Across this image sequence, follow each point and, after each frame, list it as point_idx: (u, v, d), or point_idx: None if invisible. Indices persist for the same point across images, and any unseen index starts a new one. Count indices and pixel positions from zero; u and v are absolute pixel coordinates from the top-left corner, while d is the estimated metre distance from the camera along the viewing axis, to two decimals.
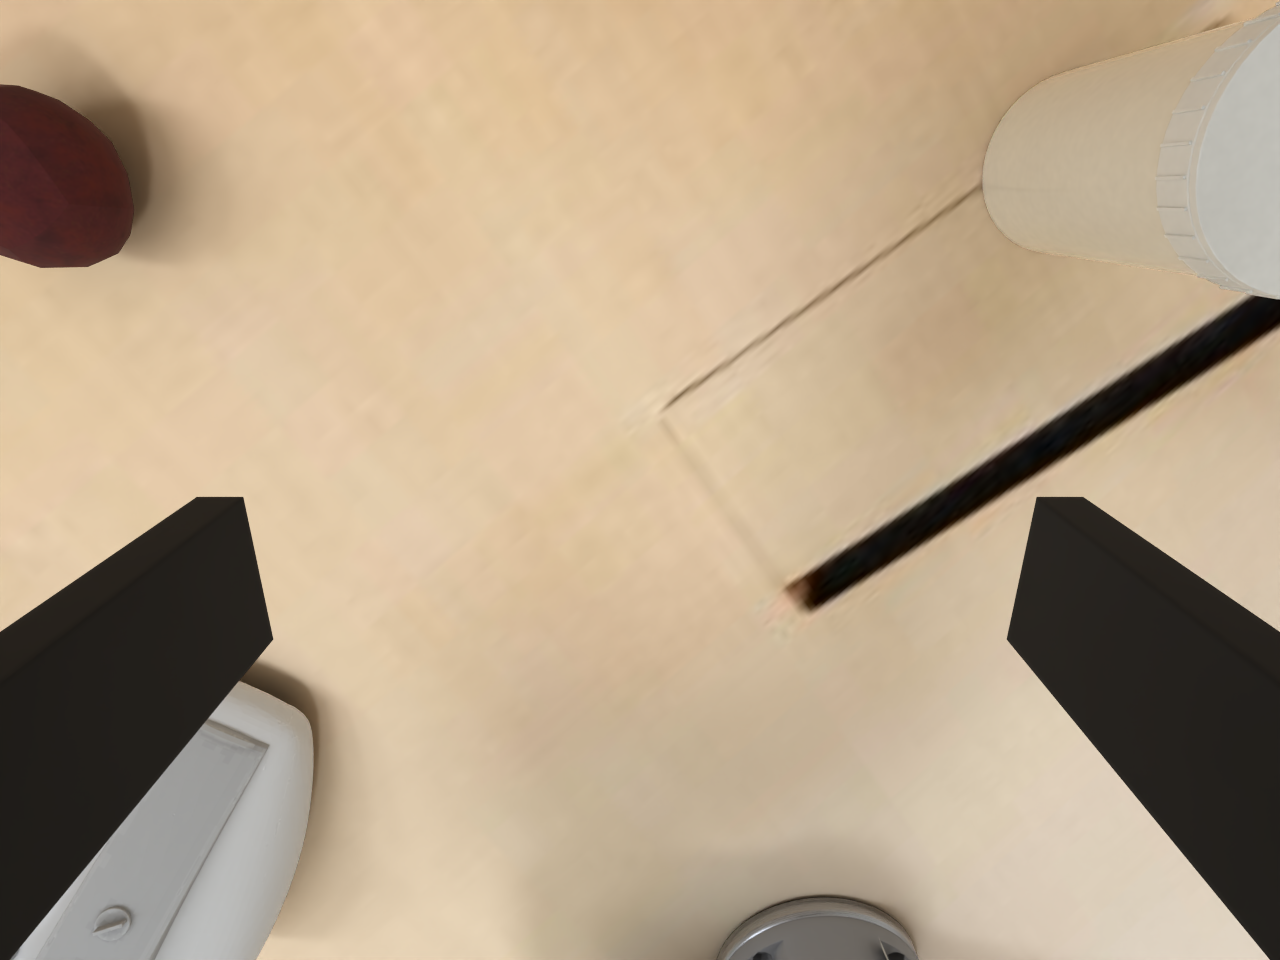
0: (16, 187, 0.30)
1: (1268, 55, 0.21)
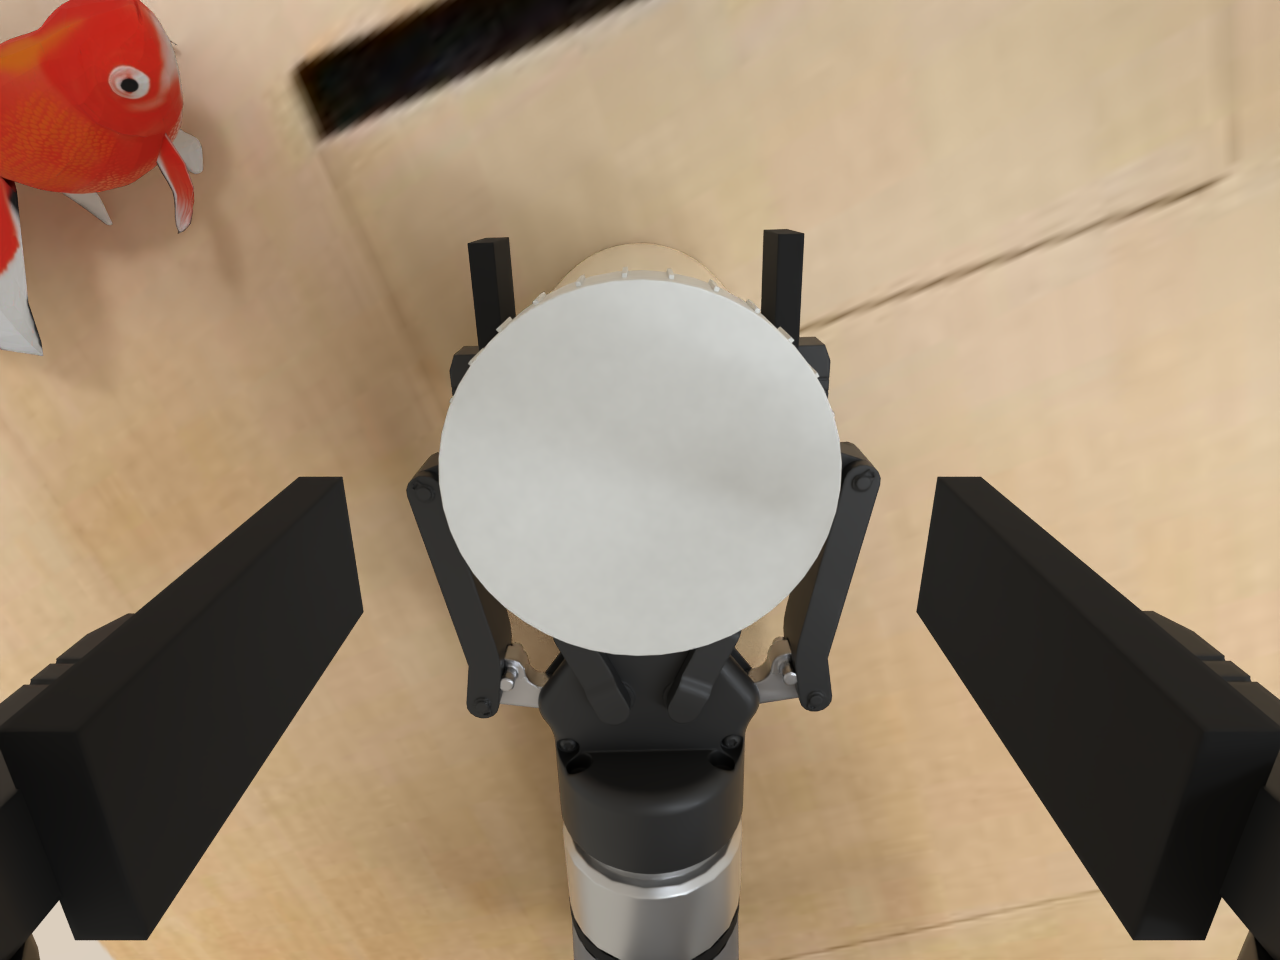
0: None
1: (741, 610, 0.17)
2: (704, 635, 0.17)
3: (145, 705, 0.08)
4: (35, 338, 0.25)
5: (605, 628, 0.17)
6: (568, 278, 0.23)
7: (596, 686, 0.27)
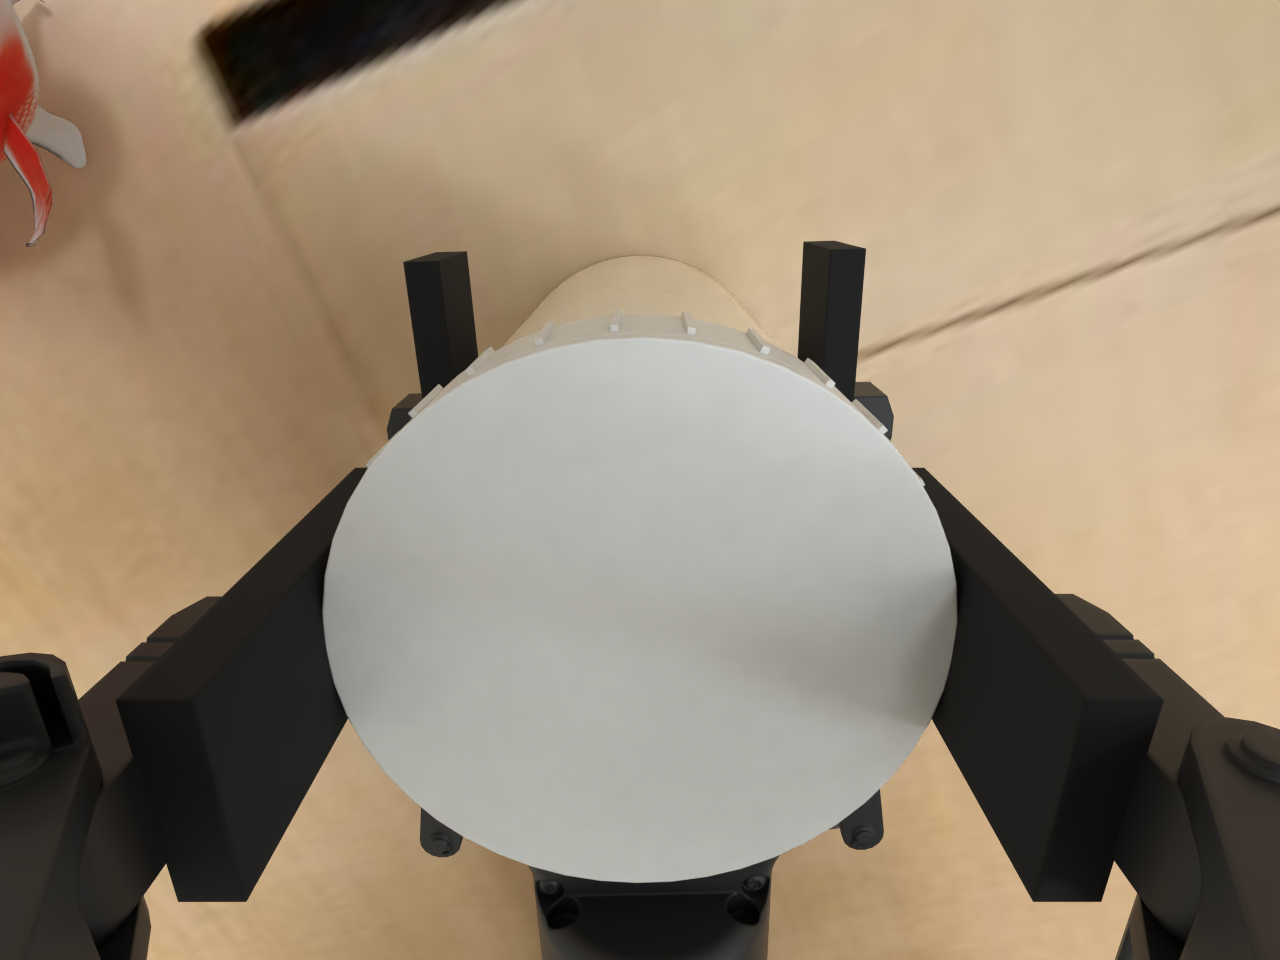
0: None
1: (793, 823, 0.11)
2: (736, 856, 0.12)
3: (244, 678, 0.08)
4: None
5: (588, 847, 0.12)
6: (544, 307, 0.17)
7: None
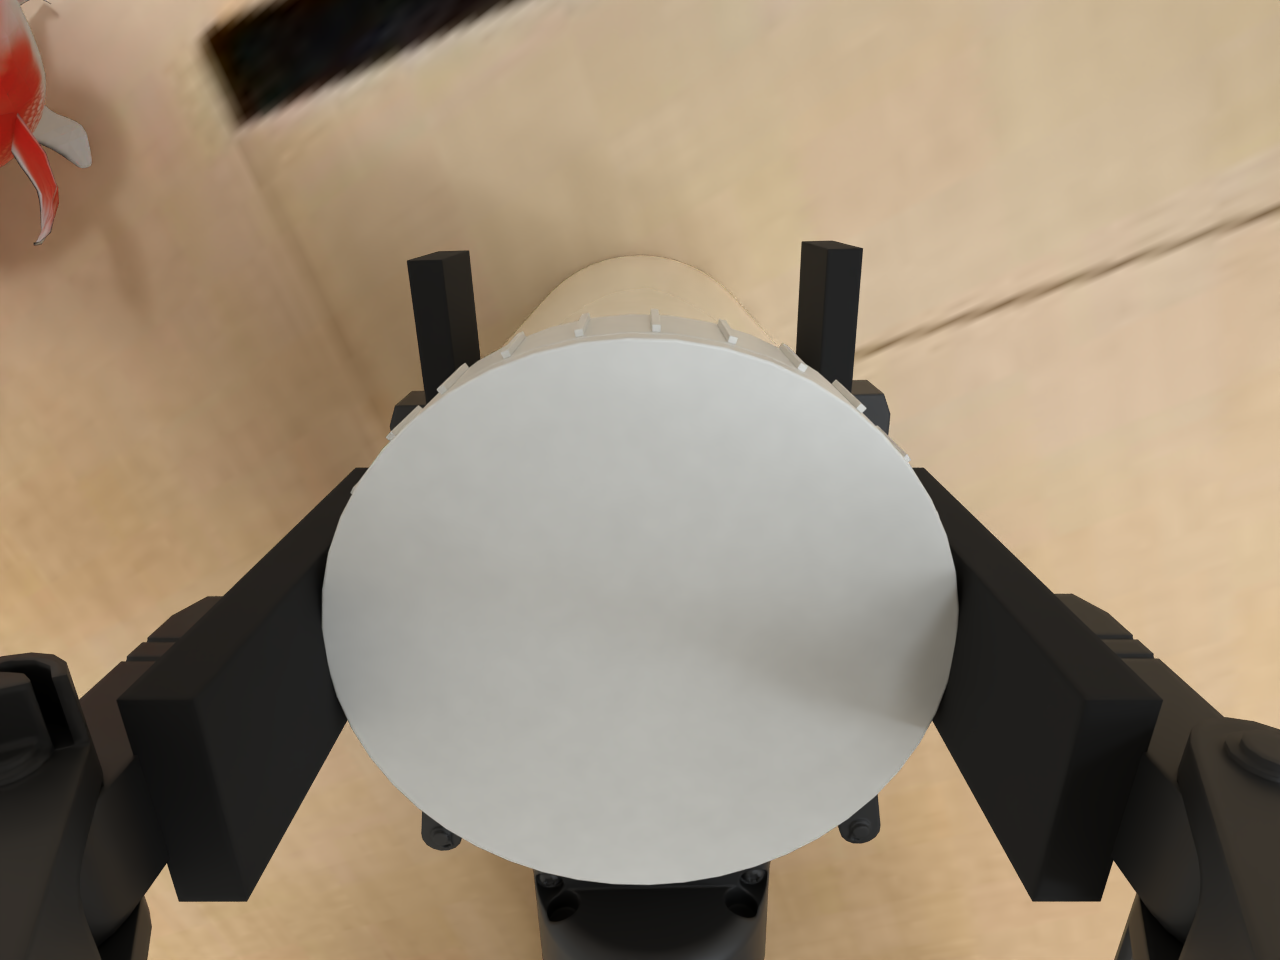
0: None
1: (878, 486, 0.09)
2: (925, 544, 0.10)
3: (245, 678, 0.08)
4: None
5: (896, 693, 0.10)
6: (545, 305, 0.17)
7: None
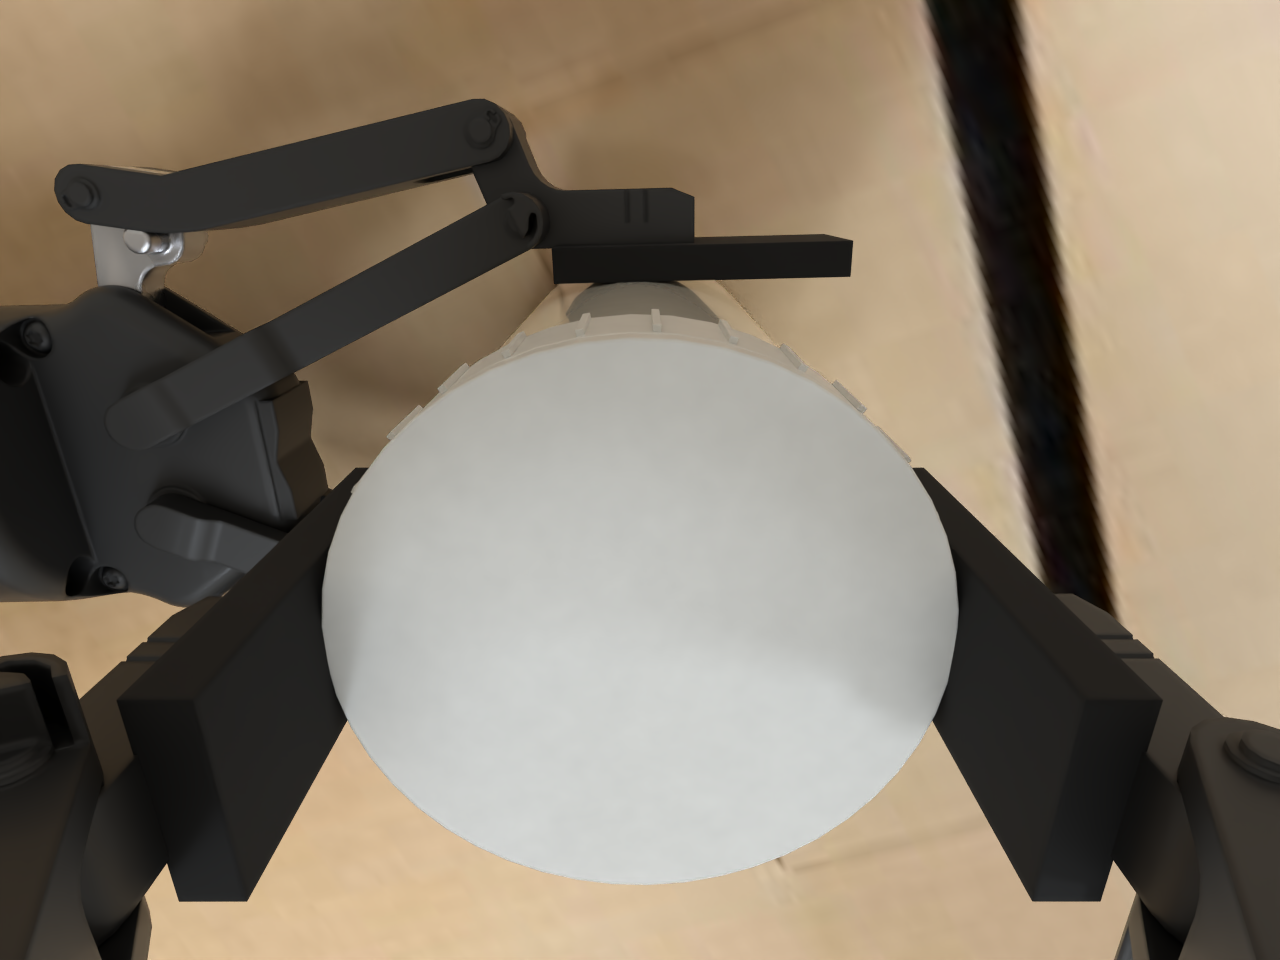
0: None
1: (878, 486, 0.09)
2: (925, 544, 0.10)
3: (246, 678, 0.08)
4: None
5: (896, 693, 0.10)
6: None
7: (173, 398, 0.17)
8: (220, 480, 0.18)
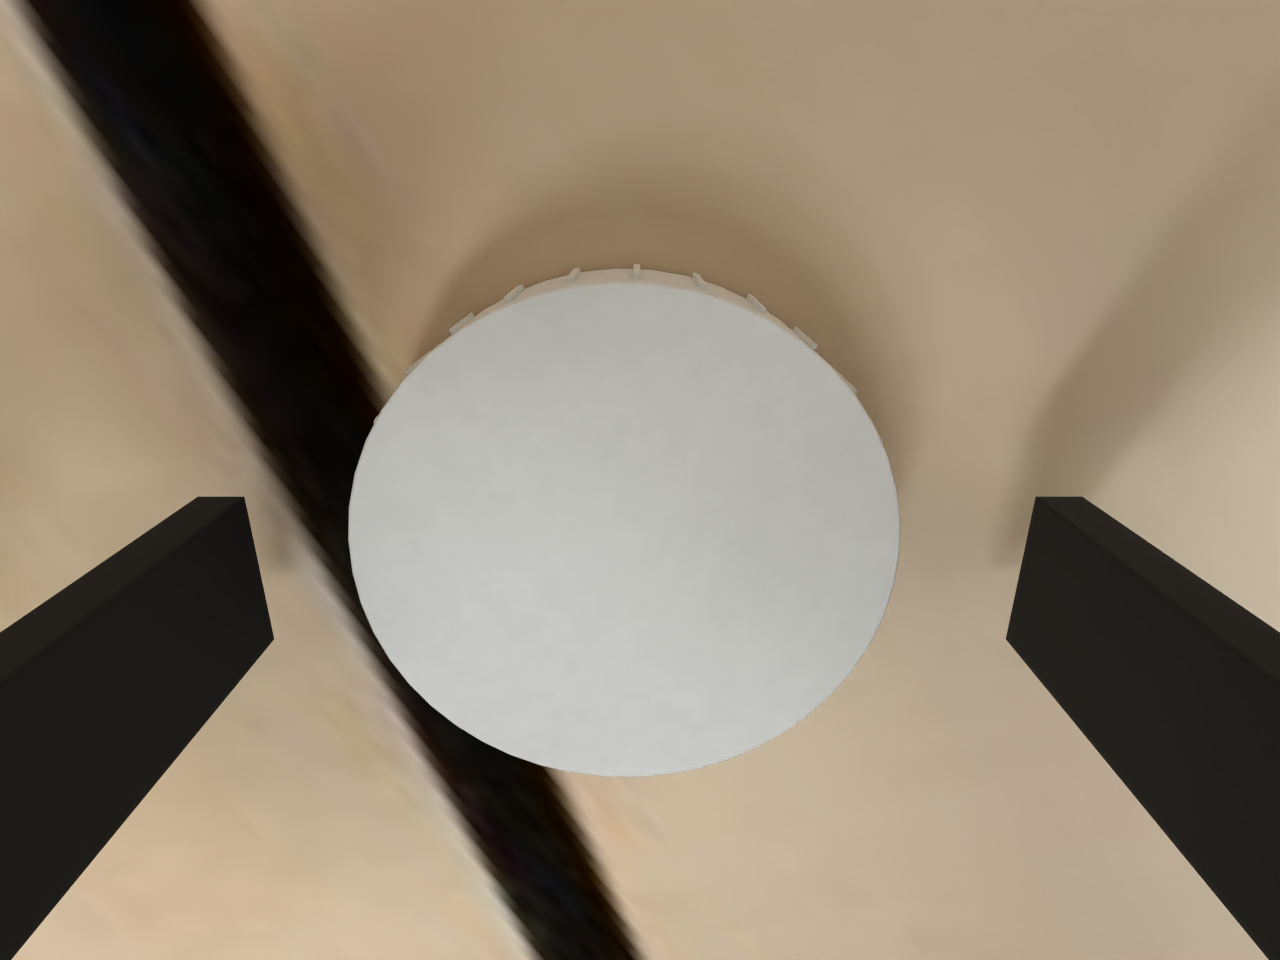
0: None
1: (827, 412, 0.11)
2: (869, 464, 0.11)
3: None
4: None
5: (848, 598, 0.12)
6: None
7: None
8: None
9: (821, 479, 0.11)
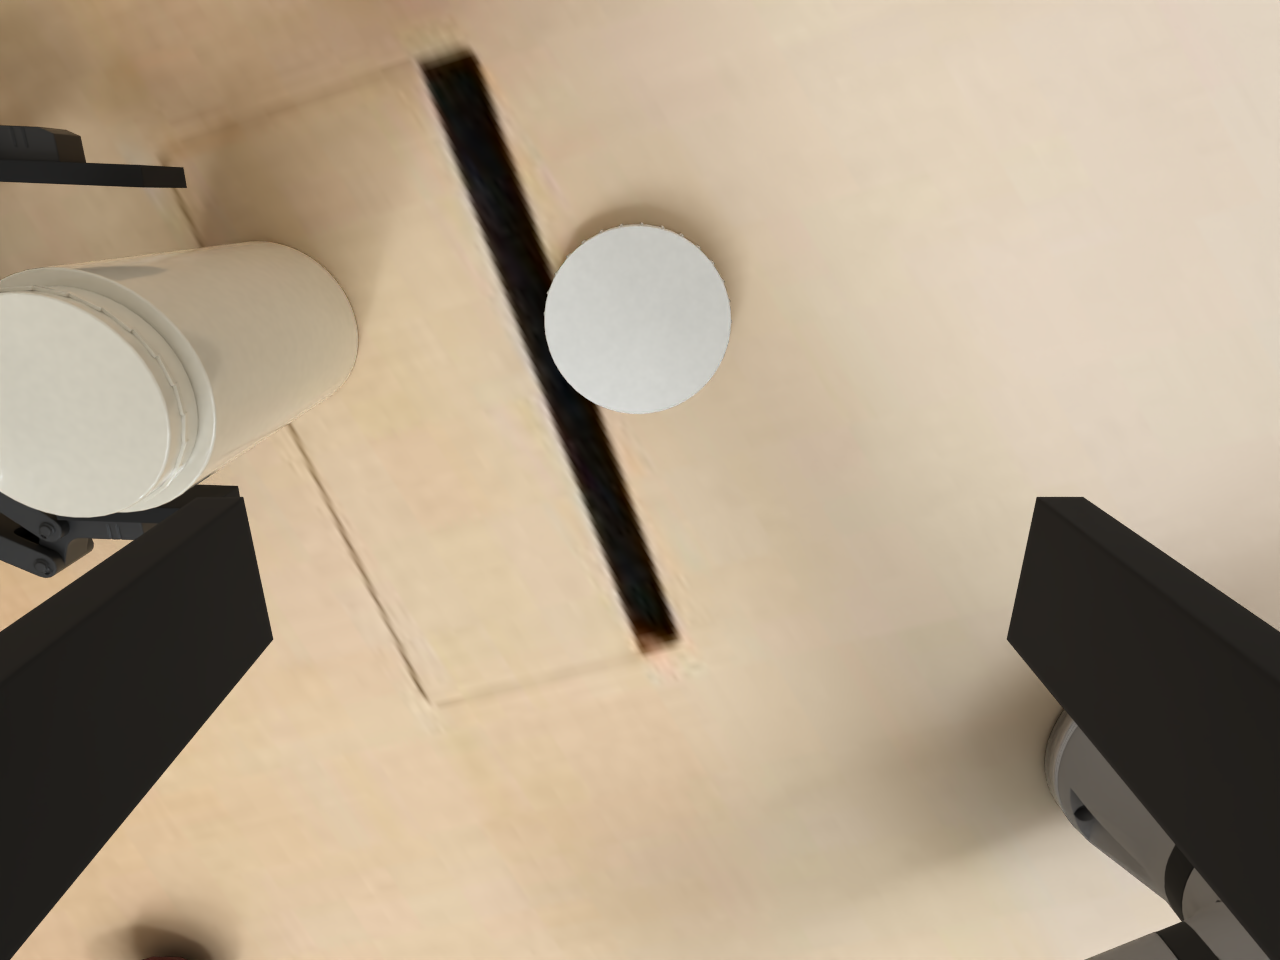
0: None
1: (703, 268, 0.34)
2: (718, 287, 0.34)
3: None
4: None
5: (714, 338, 0.35)
6: (278, 305, 0.30)
7: None
8: None
9: (702, 292, 0.34)
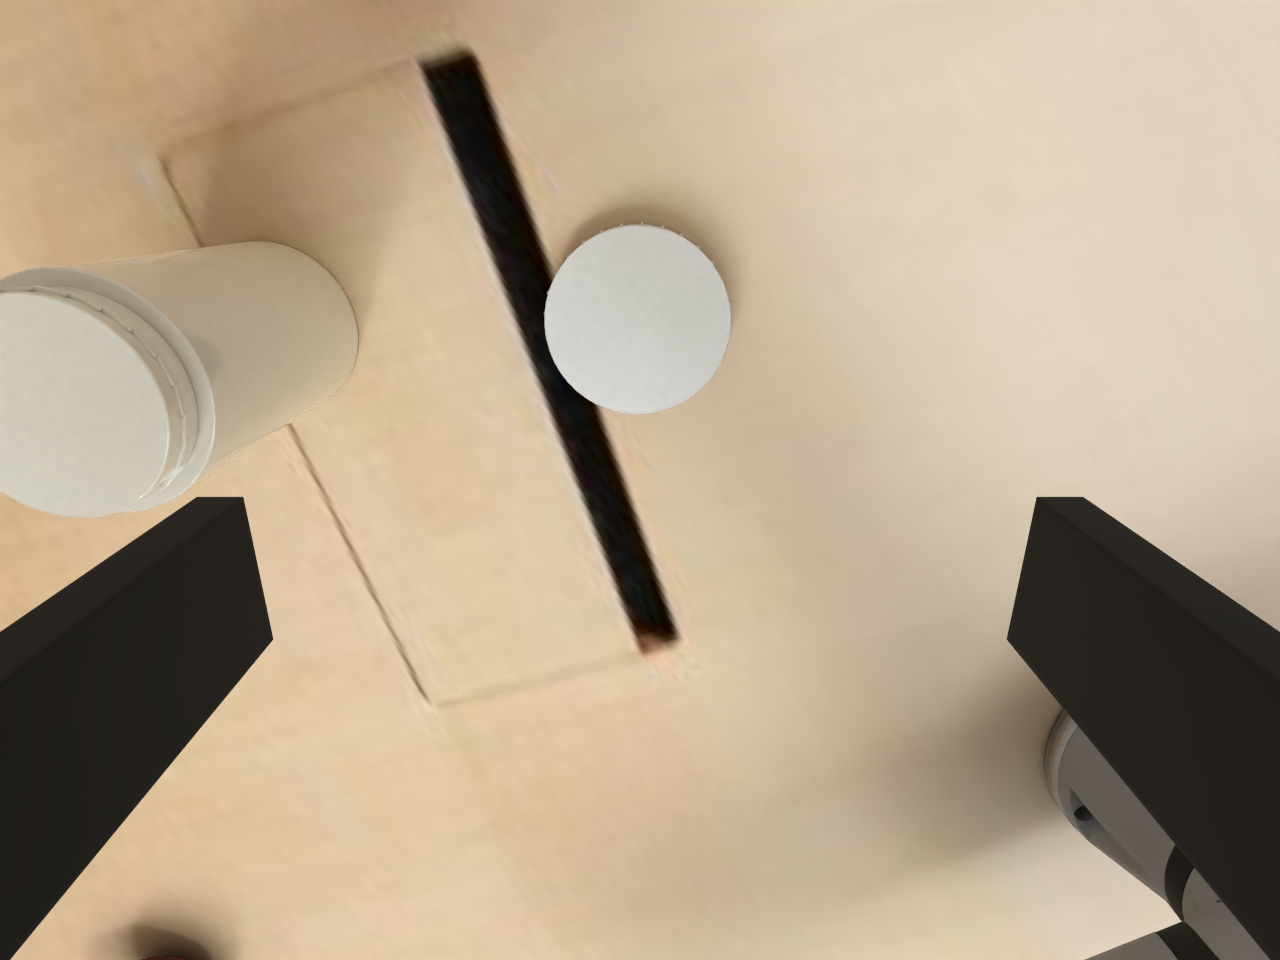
0: None
1: (703, 268, 0.34)
2: (718, 287, 0.34)
3: None
4: None
5: (714, 338, 0.35)
6: (278, 305, 0.30)
7: None
8: None
9: (702, 292, 0.34)
